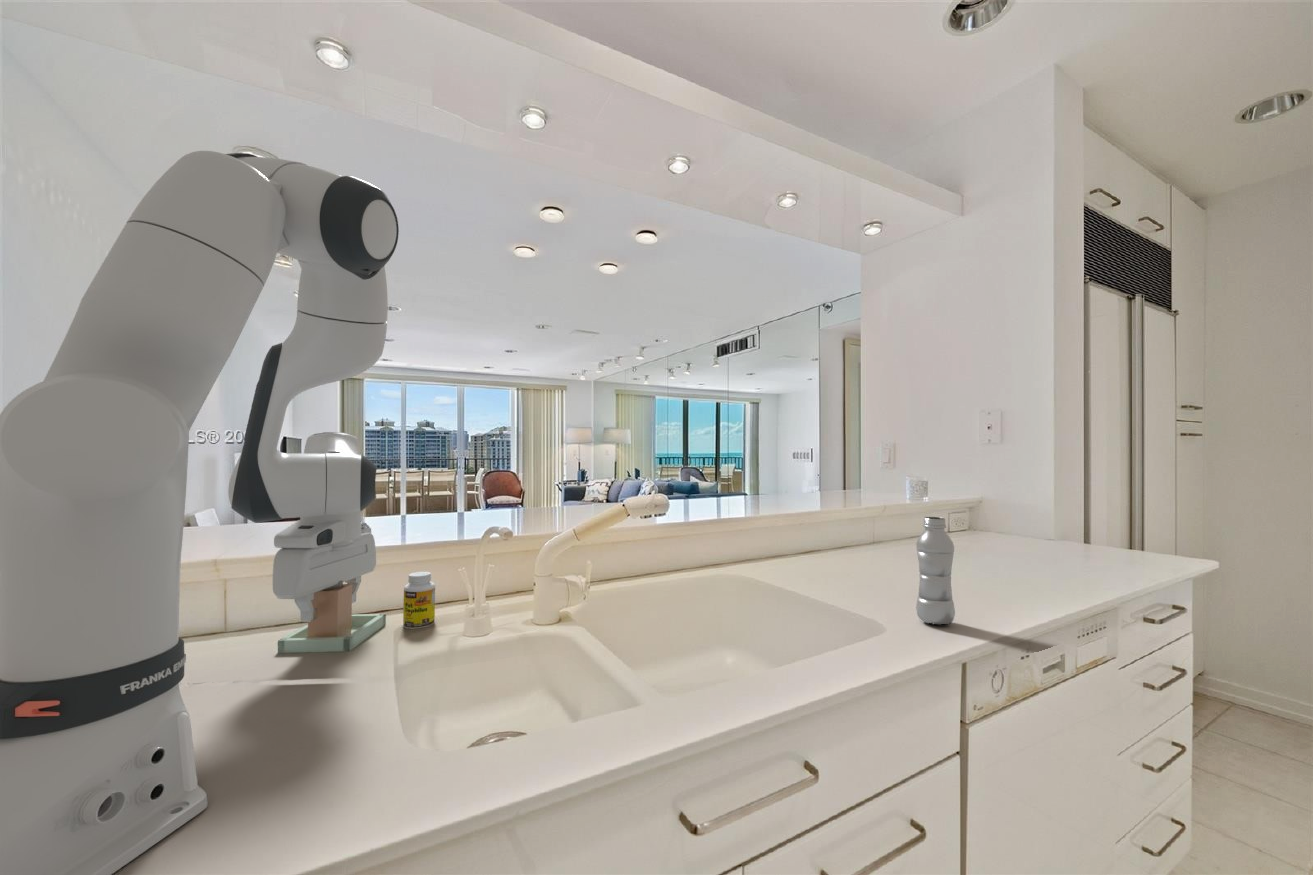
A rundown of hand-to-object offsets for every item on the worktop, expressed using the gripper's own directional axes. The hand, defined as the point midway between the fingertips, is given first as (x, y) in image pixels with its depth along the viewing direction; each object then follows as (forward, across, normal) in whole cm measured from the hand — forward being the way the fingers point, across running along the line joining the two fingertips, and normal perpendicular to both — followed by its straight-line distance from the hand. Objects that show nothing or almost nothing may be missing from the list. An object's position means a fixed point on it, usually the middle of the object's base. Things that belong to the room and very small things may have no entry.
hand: (329, 611), depth 88 cm
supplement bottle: (+6, -10, +10) cm, 15 cm away
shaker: (+5, 0, 0) cm, 5 cm away
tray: (+6, -2, 0) cm, 6 cm away
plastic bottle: (+6, -20, +107) cm, 109 cm away
